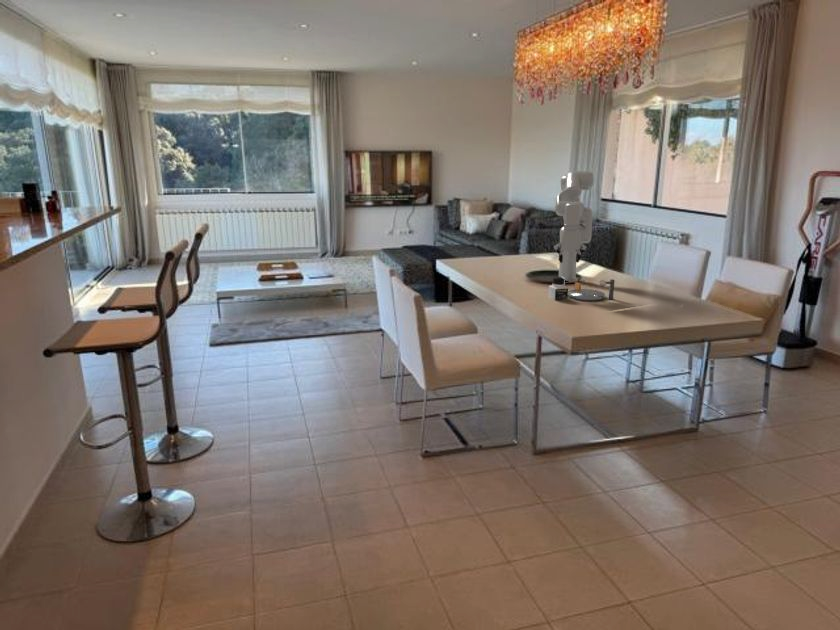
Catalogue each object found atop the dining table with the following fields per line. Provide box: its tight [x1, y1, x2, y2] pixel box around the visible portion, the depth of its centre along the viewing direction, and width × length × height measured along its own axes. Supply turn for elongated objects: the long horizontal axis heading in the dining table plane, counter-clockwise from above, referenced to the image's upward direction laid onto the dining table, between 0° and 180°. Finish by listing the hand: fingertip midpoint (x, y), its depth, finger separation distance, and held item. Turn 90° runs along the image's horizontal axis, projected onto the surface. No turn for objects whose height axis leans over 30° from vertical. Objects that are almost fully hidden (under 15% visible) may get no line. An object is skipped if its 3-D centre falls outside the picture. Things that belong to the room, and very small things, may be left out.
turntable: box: [568, 281, 606, 302], centre depth 292 cm, size 18×18×6 cm
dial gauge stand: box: [598, 279, 616, 301], centre depth 287 cm, size 4×9×11 cm, turn 91°
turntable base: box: [568, 297, 607, 303], centre depth 293 cm, size 19×19×1 cm
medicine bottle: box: [547, 275, 569, 301], centre depth 290 cm, size 7×7×12 cm
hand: (569, 261), depth 295 cm, fingers open, 7 cm apart
